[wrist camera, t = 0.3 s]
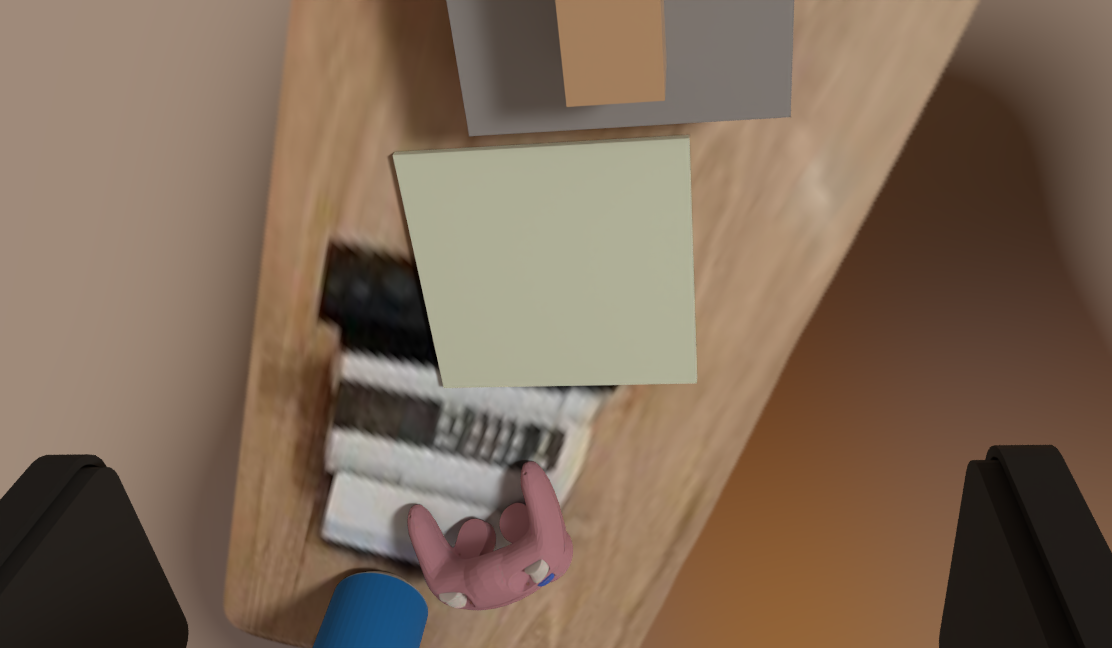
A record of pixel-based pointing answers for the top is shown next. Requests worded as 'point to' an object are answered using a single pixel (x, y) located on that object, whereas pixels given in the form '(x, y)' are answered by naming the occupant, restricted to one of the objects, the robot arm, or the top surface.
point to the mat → (556, 261)
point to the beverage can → (373, 613)
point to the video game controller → (505, 573)
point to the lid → (620, 62)
